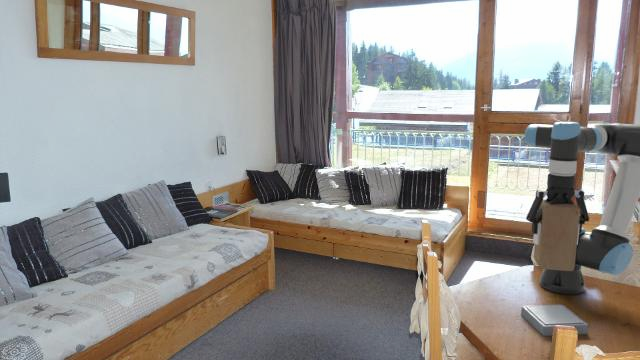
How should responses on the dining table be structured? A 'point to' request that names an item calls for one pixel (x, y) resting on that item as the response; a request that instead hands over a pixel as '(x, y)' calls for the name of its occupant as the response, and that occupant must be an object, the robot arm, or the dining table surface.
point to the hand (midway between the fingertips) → (555, 243)
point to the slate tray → (552, 318)
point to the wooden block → (558, 236)
